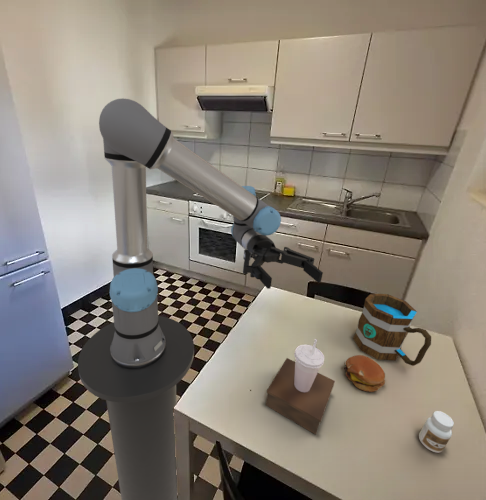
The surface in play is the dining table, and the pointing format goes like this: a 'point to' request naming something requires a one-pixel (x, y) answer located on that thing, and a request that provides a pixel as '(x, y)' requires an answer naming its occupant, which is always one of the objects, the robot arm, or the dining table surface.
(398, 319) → the mug
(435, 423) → the pill bottle
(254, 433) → the dining table surface
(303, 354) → the smoothie
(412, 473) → the dining table surface
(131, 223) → the robot arm
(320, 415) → the walnut box
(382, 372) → the burger
